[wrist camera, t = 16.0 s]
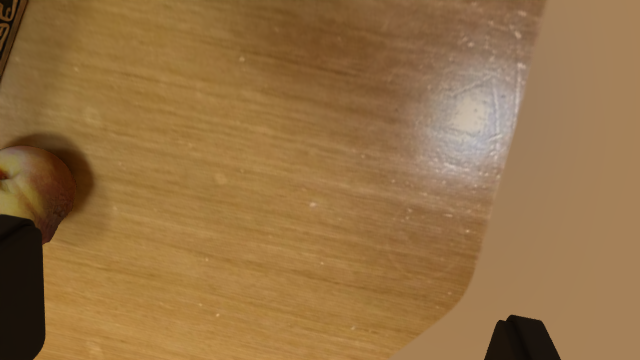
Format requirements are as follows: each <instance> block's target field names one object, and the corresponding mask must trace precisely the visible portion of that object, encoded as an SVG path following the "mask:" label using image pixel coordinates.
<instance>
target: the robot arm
mask: <svg viewBox="0 0 640 360" xmlns="http://www.w3.org/2000/svg"><path fill="white" fill-rule="evenodd" d="M44 341H45V307H44V278H43V249H42V233H41V230H40V229H39V228H36V226H35V224H34V222H33V221H32V220H31V219H27V218H22V217H17V216H12V215H7V214H0V360H33V359H34V358H35V357H36V356H37V355H38V353H39V352H40V351H41V349H42V347H43V344H44ZM484 360H561V359H560V357H559V355H558V352H557V350H556V348H555V346H554V344H553V342H552V340H551V338H550V336H549V334H548V332H547V330H546V328H545V326H544V324H543V322H542V321H540V320H536V319H531V318H526V317H521V316H516V315H510V316H509V317H508V318H507V320H506V321H503V320H499V321H498V322H497V324H496V326H495V329H494V332H493V335H492V338H491V341H490V344H489V347H488V350H487V353H486V356H485V359H484Z"/></svg>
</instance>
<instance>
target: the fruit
mask: <svg viewBox="0 0 640 360" xmlns="http://www.w3.org/2000/svg"><path fill="white" fill-rule="evenodd" d="M76 188H77V186H76V181H75V179H74V178H73V176H72V174H71V172H70V170H69V169H68V168H67V166H66V165H65V164H64V162H62V161H61V160H60V159H59V158H58V157H56V156H55V155H54V154H52V153H50V152H48V151H45V150H43V149H40V148H36V147H32V146H13V147H8V148H4V149H1V150H0V214H7V215H12V216H17V217H22V218H27V219H31V220H32V221H33V222H34V224H35V226H36V228H39V229H40V230H41V233H42V245H43V244H45V243H47V242H50V240H51V239H52V237H53V236H54V233H55V231H56V230H57V228H58V225H59V224H60V222H61V221H62V220H63V219H64V218H65V217H66V216H67V215H68V213H69V212H70V211H71V209H72V207H73V202H74V196H75V191H76Z"/></svg>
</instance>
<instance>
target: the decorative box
mask: <svg viewBox="0 0 640 360" xmlns="http://www.w3.org/2000/svg"><path fill="white" fill-rule="evenodd" d="M26 2H27V0H0V77H1V74H2V71H3V68H4V65H5V62H6V60H7V57H8V54H9V51H10V48H11V45H12V42H13V39H14V36H15V34H16V31H17V28H18V25H19V22H20V19H21V16H22V13H23V10H24V7H25V5H26Z"/></svg>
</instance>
